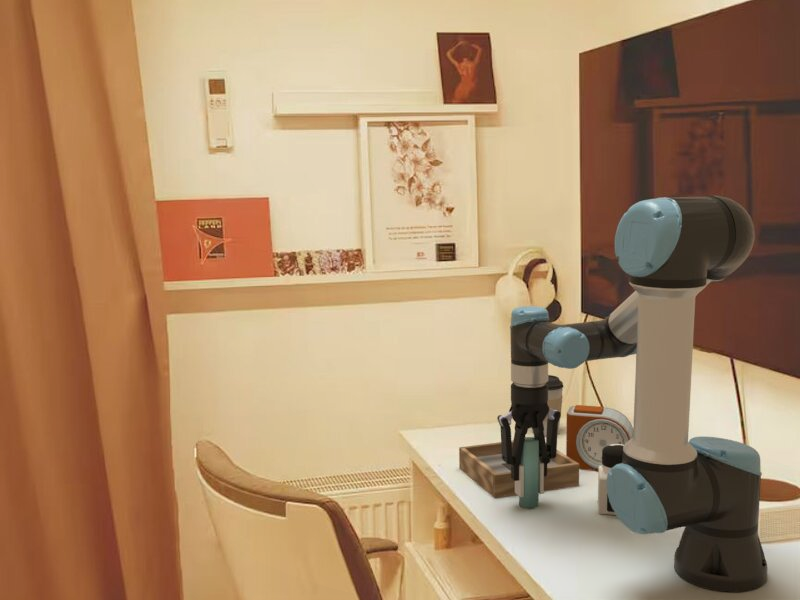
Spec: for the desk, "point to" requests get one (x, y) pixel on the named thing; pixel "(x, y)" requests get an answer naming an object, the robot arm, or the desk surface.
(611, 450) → the container
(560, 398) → the coffee cup
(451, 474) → the desk surface
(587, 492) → the desk surface
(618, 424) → the alarm clock
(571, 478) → the socket box
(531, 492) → the peg
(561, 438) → the desk surface
